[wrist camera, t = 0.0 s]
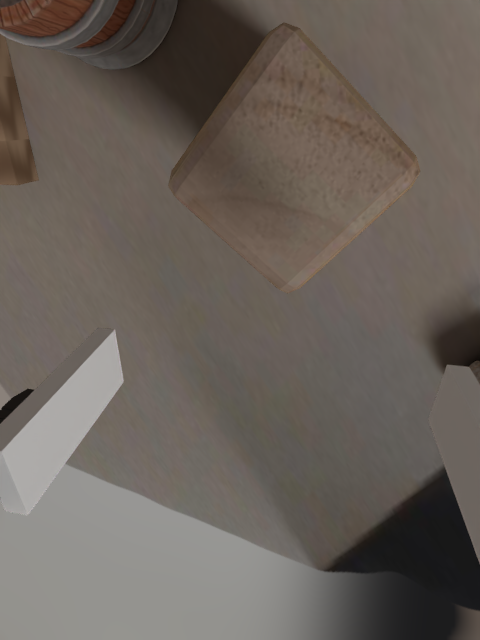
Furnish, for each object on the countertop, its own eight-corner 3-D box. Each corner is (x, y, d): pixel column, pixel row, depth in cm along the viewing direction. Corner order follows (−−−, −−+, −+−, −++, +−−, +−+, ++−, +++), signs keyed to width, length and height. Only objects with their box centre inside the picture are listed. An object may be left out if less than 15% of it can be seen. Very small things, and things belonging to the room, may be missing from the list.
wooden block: (300, 221, 40) (287, 305, 23) (229, 153, 38) (155, 187, 21) (377, 143, 35) (434, 173, 18) (300, 60, 33) (282, 5, 16)
